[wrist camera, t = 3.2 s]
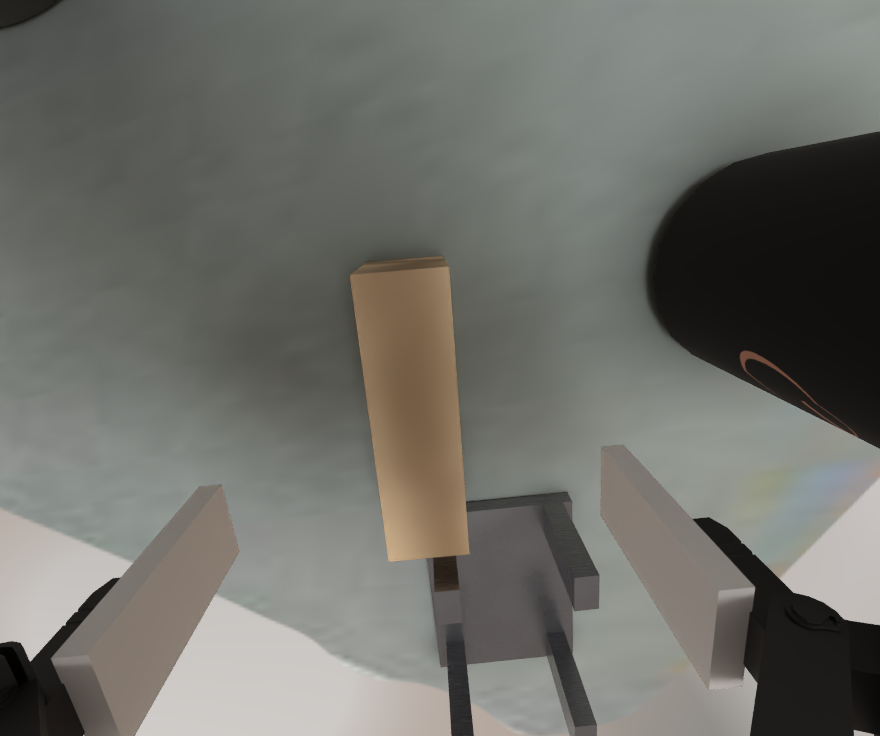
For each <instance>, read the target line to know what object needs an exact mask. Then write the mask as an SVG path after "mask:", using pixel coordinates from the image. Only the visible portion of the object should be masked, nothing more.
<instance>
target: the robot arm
mask: <svg viewBox="0 0 880 736" xmlns="http://www.w3.org/2000/svg"><path fill="white" fill-rule="evenodd" d="M55 1H56V0H0V27H3V26H7V25H11V24H14V23H17V22H20V21H23V20H25V19H27V18H29V17H32V16H34V15H36V14H37V13H39V12H41V11H42V10H44V9H46V8H47V7H48V6H50V5H51V4H53V3H54V2H55ZM601 517H602V518H603V520H604V522H605V523H606V525H607V527H608V528H609V530H610V531H611V533H612V535H613V536H614V538H615V540H616V541H617V543H618V544H619V546H620V548H621V549H622V551H623V552H624V554H625V556H626V557H627V559H628V561H629V562H630V564H631V565H632V567H633V569H634V570H635V572H636V574H637V575H638V577H639V578H640V580H641V582H642V583H643V585H644V587H645V588H646V590H647V591H648V593H649V595H650V596H651V598H652V599H653V601H654V603H655V604H656V606H657V608H658V609H659V611H660V612H661V614H662V616H663V617H664V619H665V621H666V622H667V624H668V625H669V627H670V629H671V630H672V632H673V634H674V635H675V637H676V638H677V640H678V642H679V643H680V645H681V647H682V648H683V650H684V651H685V653H686V655H687V656H688V658H689V659H690V661H691V663H692V664H693V666H694V668H695V669H696V671H697V672H698V674H699V676H700V677H701V679H702V681H703V682H704V684H705V685H706V687H707V689H708V690H715V689H725V688H735V687H742V684H743V676H744V668H745V667H746V668H747V669H748V671H749V672H750V674H751V675H752V676H753V678H754V679H755V680H756V682H757V683H758V684H757V691H756V698H755V706H754V712H753V718H752V725H751V732H750V736H854V730H858V731H862V732H867V733H871V734H874V736H880V625H874V624H867V623H860V622H854V621H848V620H844V619H843V618H842V617H841V616H840V615H839V614H838V613H837V612H836V611H835V610H833V609H832V608H830V607H829V606H827V605H826V604H824V603H823V602H820V601H818V600H816V599H814V598H811V597H809V596H805V595H800V594H796V593H793V592H792V591H791V590H790V589H789V588H788V587H787V586H786V585H785V584H784V583H783V582H782V581H781V580H780V579H779V578H778V577H777V576H776V575H775V574H774V573H773V572H772V571H771V570H770V569H769V568H768V567H767V566H766V565H765V564H764V563H763V562H762V561H761V560H760V559H759V558H758V557H757V556H756V555H753V554H752V551H751V550H749V549H748V548H747V547H746V546H745V545H744V544H742V543H741V541H740V540H739V539H738V538H737V537H736V536H735V535H734V534H733V533H732V532H731V531H730V530H729V529H728V528H727V527H725V526H723V525H721V524H720V523H718V522H716V521H714V520H713V519H711V518H709V517H707V518H697V519H692V518H691V517H690V516H689V515H688V514H687V513H686V512H685V511H684V510H683V509H682V507H681V506H680V505H679V504H678V503H677V502H676V501H675V500H674V499H673V498H672V497H671V496H670V494H669V493H668V492H667V491H666V490H665V489H664V488H663V487H662V486H661V485H660V484H659V483H658V481H657V480H656V479H655V478H654V477H653V476H652V475H651V474H650V473H649V472H648V471H647V470H646V468H645V467H644V466H643V465H642V464H641V463H640V462H639V461H638V460H637V459H636V458H635V457H634V455H633V454H632V453H631V452H630V451H629V450H628V449H627V448H626V447H625V446H624V445H614V446H604V447H601ZM238 553H239V548H238V544H237V541H236V537H235V533H234V529H233V525H232V521H231V517H230V514H229V510H228V506H227V502H226V498H225V494H224V491H223V487H222V484H221V485H211V486H201V487H199V488H198V489H197V490H196V491H195V493H194V494H193V495H192V496H191V497H190V498H189V499H188V501H187V502H186V503H185V504H184V505H183V506H182V508H181V509H180V510H179V511H178V512H177V513H176V514H175V516H174V517H173V518H172V519H171V520H170V521H169V523H168V524H167V525H166V526H165V527H164V528H163V530H162V531H161V532H160V533H159V534H158V535H157V536H156V538H155V539H154V540H153V541H152V542H151V543H150V545H149V546H148V547H147V548H146V549H145V550H144V551H143V553H142V554H141V555H140V556H139V557H138V558H137V560H136V561H135V562H134V563H133V564H132V565H131V567H130V568H129V569H128V570H127V571H126V572H125V573H124V575H123V576H122V577H121V578H113V579H111V580H110V581H109V582H107V583H106V584H105V585H104V586H102V587H100V588H99V589H98V590H96V591H95V592H94V593H92V594H91V596H90V597H89V598H88V599H87V600H86V601H85V602H84V603H83V604H82V605H81V607H80V608H79V609H78V612H76V613H74V614H73V615H72V617H71V618H70V619H69V620H68V621H67V622H66V625H65V626H62V628H61V629H60V630H59V631H58V632H57V633H56V634H55V635H54V637H53V638H52V639H51V640H50V641H49V642H48V643H47V644H46V645H45V646H44V647H43V649H42V650H41V651H40V652H39V653H38V654H37V655H36V656H35V657H34V658H33V660H32V661H31V662H30V661H29V660H28V657H27V655H26V652H25V650H24V648H23V646H22V645H21V643H18V642H12V641H11V642H6V643H0V736H83V735H84V736H135V734H136V732H137V730H138V729H139V727H140V725H141V724H142V722H143V720H144V718H145V717H146V715H147V713H148V711H149V710H150V708H151V706H152V704H153V703H154V701H155V699H156V697H157V695H158V694H159V692H160V690H161V688H162V687H163V685H164V683H165V681H166V680H167V678H168V676H169V674H170V673H171V671H172V669H173V667H174V666H175V664H176V662H177V660H178V658H179V656H180V655H181V653H182V651H183V649H184V648H185V646H186V645H187V643H188V641H189V639H190V637H191V636H192V634H193V632H194V630H195V629H196V627H197V625H198V623H199V622H200V620H201V618H202V616H203V614H204V613H205V611H206V609H207V608H208V606H209V604H210V602H211V600H212V598H213V597H214V595H215V594H216V592H217V590H218V588H219V586H220V585H221V583H222V581H223V579H224V578H225V576H226V574H227V572H228V571H229V569H230V567H231V565H232V564H233V562H234V560H235V558H236V557H237V555H238Z"/></svg>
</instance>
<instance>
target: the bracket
mask: <svg viewBox="0 0 880 736" xmlns="http://www.w3.org/2000/svg"><path fill="white" fill-rule="evenodd" d="M466 512H467V526H468V540H469V554H467V555H456V556H445V557H434V558H428V566H429V574H430V582H431V590H432V599H433V607H434V615H435V624H436V632H437V640H438V649H439V657H440V665H441V667H447V666H448V682H449V699H450V715H451V734H452V736H474V734H473V724H472V714H471V704H470V694H469V684H468V674H467V664H476V663H485V662H495V661H505V660H514V659H524V658H533V657H543V656H547V658H548V661H549V665H550V668H551V672H552V675H553V679H554V682H555V685H556V689H557V692H558V696H559V699H560V703H561V706H562V710H563V713H564V717H565V720H566V724H567V727H568V731H569V734H570V736H597V724H596V721H595V718H594V715H593V713H592V710H591V707H590V704H589V701H588V698H587V695H586V692H585V690H584V687H583V684H582V681H581V678H580V675H579V672H578V669H577V667H576V664H575V661H574V658H573V655H572V653H573V623H572V606H573V608H574V611H580V610H589V609H599V574H598V572H597V570H596V568H595V566H594V564H593V562H592V560H591V558H590V556H589V554H588V552H587V550H586V548H585V546H584V544H583V542H582V540H581V538H580V536H579V534H578V532H577V530H576V528H575V526H574V524H573V522H572V501H571V499H570V497H569V495H568V493H567V492H564V493H554V494H544V495H534V496H524V497H514V498H504V499H494V500H484V501H475V502H466Z"/></svg>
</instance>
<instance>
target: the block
mask: <svg viewBox="0 0 880 736" xmlns="http://www.w3.org/2000/svg"><path fill="white" fill-rule="evenodd" d="M350 281H351V289H352V296H353V303H354V311H355V318H356V325H357V333H358V340H359V347H360V355H361V362H362V369H363V377H364V384H365V391H366V399H367V406H368V413H369V420H370V428H371V435H372V442H373V450H374V457H375V464H376V472H377V479H378V486H379V494H380V501H381V508H382V516H383V523H384V530H385V538H386V545H387V552H388V560H389V562H391V561H402V560H413V559H424V558H434V557H445V556H456V555H467V554H469V540H468V526H467V512H466V498H465V484H464V470H463V456H462V442H461V428H460V414H459V400H458V386H457V372H456V358H455V343H454V329H453V315H452V301H451V287H450V273H449V266H448V264H447V262H446V261H445V259H444V257H443V256H436V257H424V258H412V259H400V260H388V261H376V262H366V263H365V264H363V265H362V266H361V267H359V268H358V269H357V270H355V271H354V272H353V273H351V274H350Z"/></svg>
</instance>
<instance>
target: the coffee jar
mask: <svg viewBox="0 0 880 736" xmlns="http://www.w3.org/2000/svg"><path fill="white" fill-rule="evenodd" d="M653 280H654V287H655V295H656V303H657V308H658V311H659V313H660V315H661V317H662V319H663V321H664V323H665V325H666V327H667V329H668V331H669V333H670V334H671V336H672V337H673V338H674V339H675V340H676V341H678V342H679V343H680V344H681V345H682V346H683V347H684V348H685V349H687V350H688V351H689V352H690V353H691V354H692V355H694V356H696V357H698V358H700V359H702V360H704V361H706V362H708V363H710V364H712V365H714V366H716V367H718V368H720V369H722V370H724V371H726V372H728V373H730V374H732V375H734V376H736V377H738V378H740V379H742V380H744V381H746V382H748V383H750V384H752V385H754V386H756V387H758V388H760V389H762V390H764V391H766V392H768V393H770V394H772V395H774V396H776V397H778V398H780V399H782V400H784V401H786V402H788V403H790V404H792V405H794V406H796V407H798V408H800V409H802V410H804V411H806V412H808V413H810V414H812V415H814V416H816V417H818V418H820V419H822V420H824V421H826V422H828V423H830V424H832V425H834V426H836V427H838V428H840V429H842V430H844V431H846V432H848V433H850V434H852V435H854V436H856V437H858V438H860V439H862V440H864V441H866V442H868V443H870V444H872V445H874V446H876V447H878V448H880V132H874V133H869V134H864V135H859V136H854V137H848V138H843V139H838V140H833V141H827V142H822V143H817V144H812V145H806V146H801V147H796V148H791V149H786V150H780V151H775V152H770V153H766V154H763V155H759V156H756V157H752V158H749V159H745V160H742V161H738V162H735V163H733V164H731V165H730V166H728V167H727V168H725V169H723V170H722V171H720V172H719V173H717V174H716V175H714V176H713V177H711V178H710V179H708V180H706V181H705V182H703V183H702V184H701V185H700V186H699V187H698V188H697V189H696V190H695V192H694V193H693V194H692V195H691V196H690V197H689V198H688V199H687V201H686V202H685V203H684V204H683V205H682V206H681V207H680V208H679V210H678V211H677V212H676V213H675V214H674V216H673V218H672V220H671V222H670V224H669V226H668V228H667V230H666V232H665V234H664V236H663V238H662V240H661V242H660V244H659V248H658V254H657V259H656V265H655V270H654V276H653Z"/></svg>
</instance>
